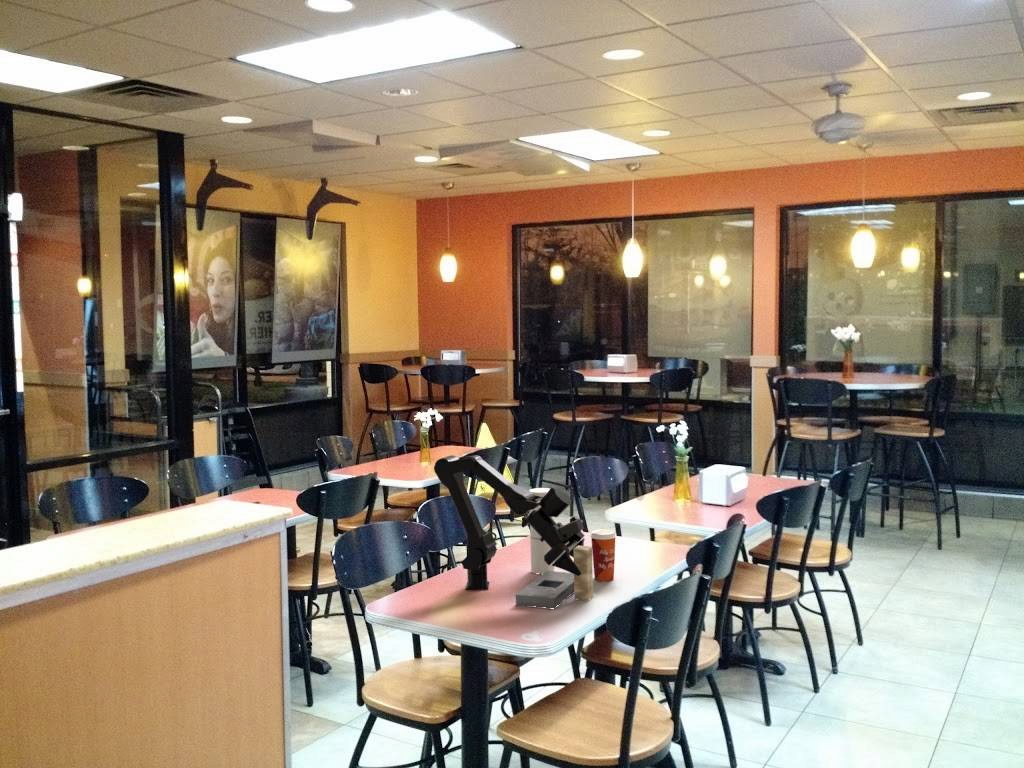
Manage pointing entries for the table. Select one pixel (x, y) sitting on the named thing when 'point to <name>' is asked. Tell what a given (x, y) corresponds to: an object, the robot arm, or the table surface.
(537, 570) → the cylindrical container
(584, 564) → the maple peg
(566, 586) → the socket plate
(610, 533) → the paper cup
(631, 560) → the table surface
